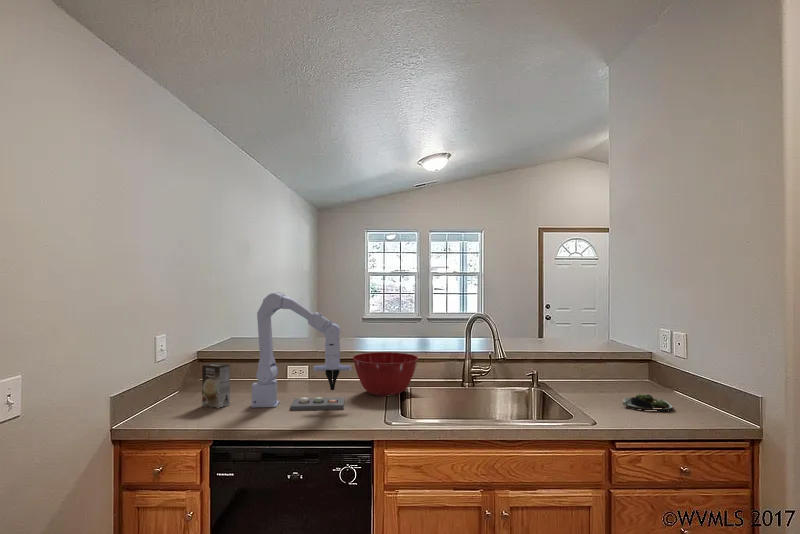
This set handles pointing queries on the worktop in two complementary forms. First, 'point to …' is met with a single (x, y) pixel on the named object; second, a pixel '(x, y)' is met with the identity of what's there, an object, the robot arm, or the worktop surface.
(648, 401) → the salad plate
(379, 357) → the mixing bowl
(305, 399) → the cream button
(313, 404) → the button panel
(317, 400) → the sage button
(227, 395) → the coffee box
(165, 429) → the worktop surface
